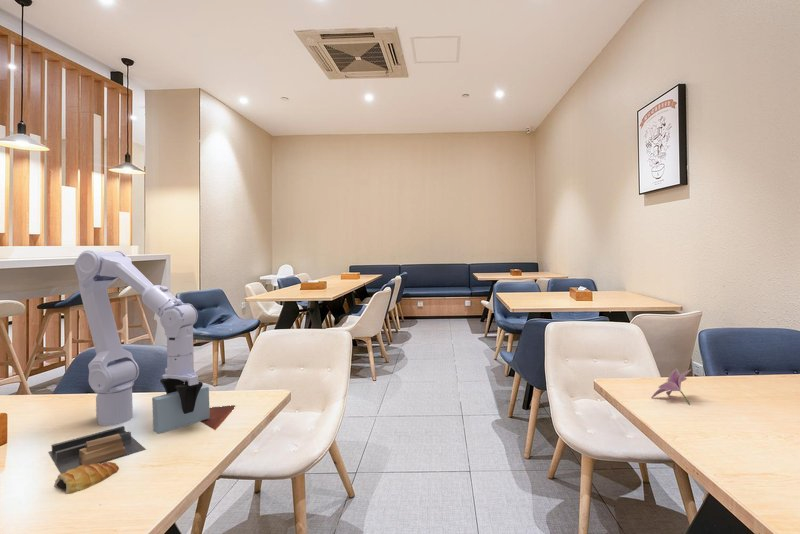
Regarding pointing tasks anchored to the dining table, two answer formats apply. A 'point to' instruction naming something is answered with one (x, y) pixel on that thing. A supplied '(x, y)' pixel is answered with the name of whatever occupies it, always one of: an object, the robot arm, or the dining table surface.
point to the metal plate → (68, 451)
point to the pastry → (85, 476)
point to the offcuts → (101, 449)
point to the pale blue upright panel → (178, 411)
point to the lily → (673, 383)
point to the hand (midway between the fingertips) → (181, 409)
